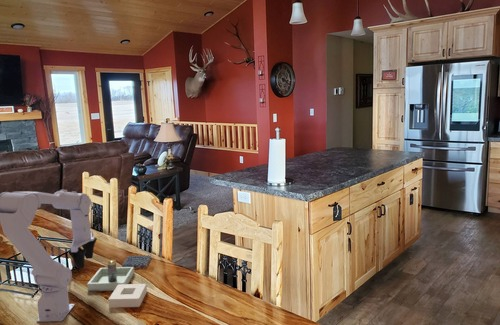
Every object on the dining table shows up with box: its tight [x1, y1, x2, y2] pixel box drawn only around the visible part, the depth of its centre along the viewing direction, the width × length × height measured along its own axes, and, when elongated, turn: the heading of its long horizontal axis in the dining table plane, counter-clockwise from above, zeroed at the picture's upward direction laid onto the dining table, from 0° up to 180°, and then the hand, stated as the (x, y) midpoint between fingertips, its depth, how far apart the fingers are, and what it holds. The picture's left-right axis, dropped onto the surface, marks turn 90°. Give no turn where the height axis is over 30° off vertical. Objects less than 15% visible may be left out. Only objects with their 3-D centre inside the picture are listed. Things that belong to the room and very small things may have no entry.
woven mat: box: [121, 254, 153, 270], centre depth 161 cm, size 10×11×2 cm
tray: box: [86, 266, 135, 292], centre depth 145 cm, size 13×13×3 cm
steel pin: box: [106, 259, 117, 282], centre depth 145 cm, size 3×3×8 cm
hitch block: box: [107, 283, 148, 309], centre depth 132 cm, size 10×10×3 cm
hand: (85, 262), depth 138 cm, fingers open, 7 cm apart
